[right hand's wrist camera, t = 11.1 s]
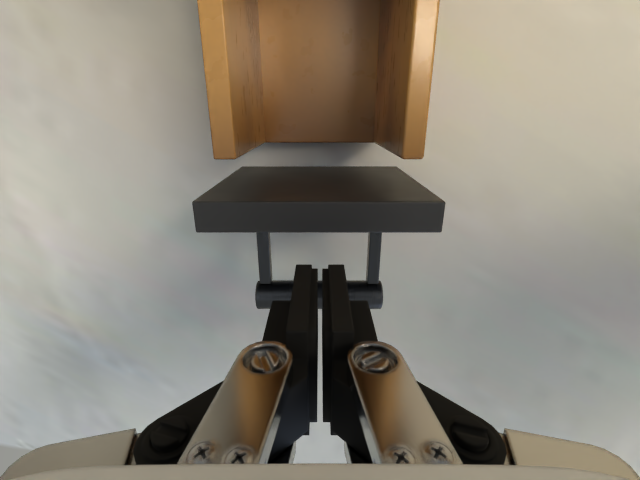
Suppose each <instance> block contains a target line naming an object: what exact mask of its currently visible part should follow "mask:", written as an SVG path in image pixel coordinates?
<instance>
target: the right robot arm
mask: <svg viewBox="0 0 640 480" xmlns="http://www.w3.org/2000/svg"><path fill="white" fill-rule="evenodd" d="M317 365H318V269H312V265H296V269H295V276H294V282H293V288H292V295H291V300H273V301H272V304H271V308H270V312H269V316H268V320H267V324H266V328H265V332H264V336H263V340H262V341H261V342H256V343H254V344H251V345H249V346H247V347H246V348H245V349H243V350H242V351H241V352H240V354H239V355H238V357H237V358H236V360H235V362H234V364H233V365H232V367H231V369H230V371H229V372H228V374H227V376H226V378H225V380H224V381H222V382H221V383H219V384H217V385H215V386H214V387H212V388H210V389H209V390H207V391H205V392H203V393H202V394H200V395H198V396H196V397H195V398H193V399H191V400H190V401H188V402H186V403H184V404H183V405H181V406H179V407H177V408H176V409H174V410H172V411H171V412H169V413H167V414H165V415H164V416H162V417H160V418H158V419H157V420H155V421H154V422H153V423H151V424H150V425H148V426H147V427H146V428H145V430H144V431H143V432H142V433H138V434H137V433H136V429H135V428H134V429H129V430H124V431H119V432H113V433H108V434H103V435H98V436H92V437H87V438H82V439H76V440H71V441H66V442H61V443H55V444H50V445H46V446H43V447H40V448H37V449H35V450H33V451H31V452H29V453H27V454H25V455H23V456H22V457H21V458H19V459H18V460H17V461H15V462H14V463H13V464H12V465H10V466H9V467H8V469H7V470H6V471H5V472H4V473H3V475H2V476H1V477H0V480H640V477H639V476H638V475H637V473H636V472H635V471H634V470H633V469H632V467H631V466H630V465H628V464H627V463H626V462H625V461H623V460H622V459H621V458H620V457H618V456H617V455H615V454H613V453H611V452H609V451H607V450H605V449H603V448H600V447H597V446H594V445H590V444H585V443H579V442H574V441H569V440H564V439H558V438H553V437H548V436H542V435H537V434H532V433H527V432H521V431H516V430H511V429H506V428H505V429H504V433H503V434H502V433H498V432H497V431H496V430H495V428H494V427H493V426H492V425H490V424H489V423H487V422H486V421H485V420H483V419H482V418H480V417H478V416H476V415H475V414H473V413H471V412H469V411H468V410H466V409H464V408H463V407H461V406H459V405H457V404H456V403H454V402H452V401H450V400H449V399H447V398H445V397H444V396H442V395H440V394H438V393H437V392H435V391H433V390H431V389H430V388H428V387H426V386H425V385H423V384H421V383H419V382H418V381H416V380H415V378H414V376H413V374H412V372H411V371H410V369H409V367H408V365H407V364H406V362H405V360H404V358H403V357H402V355H401V354H400V352H399V351H398V350H397V349H395V348H394V347H393V346H391V345H389V344H386V343H384V342H379V341H378V340H377V336H376V332H375V328H374V324H373V320H372V316H371V312H370V308H369V304H368V301H367V300H349V295H348V288H347V282H346V276H345V269H344V265H328V269H322V365H323V422H330V426H331V435H338V436H339V437H340V438H341V439H343V440H344V451H345V457H346V461H347V464H293V461H294V457H295V451H296V440H297V439H299V438H300V437H301V436H302V435H309V426H310V422H317Z"/></svg>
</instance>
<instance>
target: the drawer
mask: <svg viewBox="0 0 640 480" xmlns="http://www.w3.org/2000/svg"><path fill="white" fill-rule="evenodd" d="M439 2H440V0H197V3H198V13H199V22H200V32H201V41H202V51H203V60H204V70H205V79H206V89H207V98H208V108H209V117H210V127H211V136H212V146H213V156H214V159H236V158H238V157H240V156H242V155H243V154H245V153H247V152H249V151H251V150H252V149H254V148H256V147H258V146H259V145H261V144H263V143H265V142H341V143H376V144H378V145H380V146H381V147H383V148H385V149H387V150H388V151H390V152H392V153H394V154H395V155H397V156H399V157H401V158H403V159H422V158H423V157H424V148H425V138H426V129H427V119H428V109H429V100H430V90H431V80H432V70H433V61H434V51H435V41H436V31H437V22H438V12H439ZM192 204H193V211H194V219H195V227H196V232H257V247H258V262H259V277H260V281H258V282H257V285H256V294H255V299H256V306H257V308H258V309H270V308H271V304H272V301H273V300H291V295H292V288H293V282H294V281H272V264H271V245H270V232H369V233H368V252H367V271H366V281H346V282H347V288H348V295H349V300H367V301H368V304H369V308H370V309H381V307H382V303H383V289H382V284H381V281H379V267H380V252H381V237H382V232H441V231H442V224H443V217H444V209H445V201H443V200H442V199H440V198H439V197H438V196H436V195H435V194H433V193H432V192H431V191H429V190H428V189H427V188H425V187H424V186H422V185H421V184H420V183H418V182H417V181H415V180H414V179H413V178H411V177H410V176H409V175H407V174H406V173H404V172H403V171H402V170H400V169H399V168H397V167H241V168H240V169H238V170H237V171H235V172H234V173H233V174H231V175H230V176H228V177H227V178H225V179H224V180H223V181H221V182H220V183H218V184H217V185H216V186H214V187H213V188H211V189H210V190H209V191H207V192H206V193H204V194H203V195H201V196H200V197H199V198H197V199H196V200H194V201H193V202H192ZM318 309H322V281H318Z"/></svg>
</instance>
